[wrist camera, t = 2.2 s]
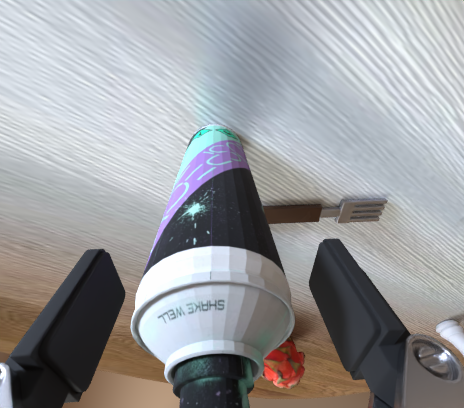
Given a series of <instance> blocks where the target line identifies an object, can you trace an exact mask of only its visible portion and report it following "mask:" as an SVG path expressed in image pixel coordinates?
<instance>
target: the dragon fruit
mask: <svg viewBox="0 0 464 408" xmlns="http://www.w3.org/2000/svg"><path fill="white" fill-rule="evenodd" d="M304 358H305V355H304V353H303V352H297V350H296V347H295V344H294V342H293V341H292V339H291V338H290V337H288V338H287V339H286V341H285V342H284V343H282V344H281V345H280V346H279V347H277V348H276V349H274V350H273V351H271V352H270V353H269V354H268V355H267V356H266V357H265V358H264V359H263V360H264V372H263V374H262V375H261V376H262V377H263V378H264V379H266V380H269V381H273V383H274V385H275V386H277V387H279V388H284V387H285V388H287V389H292V388H293V387H294V386H295V385H298V384H299V382H300V378H302V376H303V374H304V371H305V368H304V367H303V366H302V365H303V364H304Z"/></svg>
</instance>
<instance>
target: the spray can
mask: <svg viewBox="0 0 464 408" xmlns="http://www.w3.org/2000/svg"><path fill="white" fill-rule="evenodd" d="M135 306H136V309H135V311H134V314H133V317H132V320H131V332H132V335H133V338H134V339H135V341H136V342H137V343H138V345H139V346H140V347H141V348H143V349H144V350H145V351H146V352H148V353H149V354H151V355H153V356H155V357H157V358H158V359H159V360H161V361H162V362H163V363H164V364H166V366H165V372H164V374H165V378H166V379H167V381H168V382H169V383H171V384H172V385H173V393H174V394H175V395H176V396H177V397H179V398H180V408H250V406H249V400H248V396H247V394H249V393H250V392H251V391H252V390H253V387H254V381H255V380H257V379H258V378H259V377H260V376H261V375H262V374H263V372H264V360H263V359H264V358H265V357H266V356H267V355H268V354H269V353H270V352H271V351H273V350H274V349H276V348H277V347H279V346H280V345H281V344H282V343H284V342H285V341H286V339H287V338H288V337H289V336H290V334H291V332H292V330H293V328H294V325H295V315H294V311H293V308H292V304H291V292H290V288H289V285H288V282H287V279H286V276H285V273H284V270H283V267H282V264H281V261H280V258H279V255H278V252H277V249H276V246H275V243H274V240H273V237H272V234H271V231H270V228H269V225H268V222H267V219H266V216H265V213H264V210H263V207H262V204H261V201H260V198H259V195H258V192H257V189H256V186H255V183H254V180H253V177H252V174H251V171H250V168H249V165H248V162H247V159H246V156H245V153H244V150H243V147H242V144H241V142H240V140H239V138H238V136H237V135H236V134H235V132H234V131H232V130H231V129H230V128H228V127H226V126H223V125H220V124H210V125H206V126H203V127H202V128H200V129H198V130H197V131H196V132H195V133H194V135H193V136H192V138H191V139H190V142H189V144H188V147H187V150H186V153H185V156H184V159H183V162H182V164H181V167H180V170H179V173H178V176H177V179H176V182H175V185H174V188H173V190H172V193H171V196H170V199H169V202H168V205H167V208H166V211H165V213H164V216H163V219H162V222H161V225H160V228H159V231H158V234H157V236H156V239H155V242H154V245H153V248H152V251H151V254H150V257H149V259H148V262H147V265H146V268H145V271H144V274H143V277H142V280H141V282H140V285H139V288H138V291H137V294H136V301H135Z"/></svg>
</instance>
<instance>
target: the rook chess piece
mask: <svg viewBox="0 0 464 408" xmlns="http://www.w3.org/2000/svg"><path fill="white" fill-rule="evenodd" d="M436 331H437V332H439V333H440V335H441V337H443V338H445V339H447V340H448V341H449V342H451V343H452V344H453V345H454V346H455V347H456V348H457V349H458V350H459V351H460V352H461V353H462V354H463V356H464V329H463V327H461V326H459V322H456V321H454V320H448V321H444V322H442V323H440V324H438V325H437V326H436Z"/></svg>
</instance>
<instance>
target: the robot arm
mask: <svg viewBox="0 0 464 408" xmlns="http://www.w3.org/2000/svg"><path fill="white" fill-rule="evenodd" d="M309 287H310V290H311V292H312V295H313V297H314V299H315V302H316V304H317V306H318V309H319V311H320V313H321V316H322V318H323V320H324V323H325V325H326V327H327V330H328V332H329V334H330V337H331V339H332V341H333V343H334V346H335V348H336V350H337V353H338V355H339V357H340V360H341V362H342V364H343V366H344V368H345V370H346V371H348V372H349V371H350V374H351V376H352V378H353V380H360V379H365V380H366V383H367V385H368V387H369V389H370V398H369V404H368V408H464V367H463V365H462V364H461V362H460V361H459V359H458V358H457V357H456V356H455V354H454V353H453V352H452V351H451V350H450V349H448V348H447V347H446V346H445V345H443V344H442V343H441V342H439V341H437V340H436V339H434V338H432V337H429V336H427V335H423V334H412V335H411V334H410V333H409V331H408V330H407V329H406V327H405V326H404V325H403V323H402V322H401V321H400V319H399V318H398V316H397V315H396V314H395V312H394V311H393V310H392V308H391V307H390V306H389V304H388V303H387V302H386V300H385V299H384V298H383V296H382V295H381V293H380V292H379V291H378V289H377V288H376V287H375V285H374V284H373V283H372V281H371V280H370V279H369V277H368V276H367V275H366V273H365V272H364V271H363V270H362V269H361V268H360V267H359V265H358V264H357V263H356V261H355V260H354V258H353V257H352V256H351V254H350V253H349V252H348V250H347V249H346V248H345V246H344V245H343V243H342V242H341V241H340V240H339V239H324V240H323V242H321V243H320V244H319V248H318V251H317V255H316V258H315V262H314V265H313V269H312V272H311V276H310V280H309ZM124 299H125V290H124V287H123V285H122V283H121V280H120V278H119V276H118V273H117V271H116V268H115V266H114V264H113V261H112V259H111V257H110V254H109V253H108V252H105V250H104V249H92V250H87V251H86V252H85V253H84V254H83V256H82V257H81V258H80V260H79V261H78V263H77V264H76V265H75V267H74V268H73V269H72V271H71V272H70V274H69V275H68V276H67V278H66V279H65V280H64V282H63V283H62V284H61V286H60V287H59V289H58V290H57V291H56V293H55V294H54V295H53V297H52V298H51V300H50V301H49V302H48V304H47V305H46V306H45V308H44V309H43V311H42V312H41V313H40V315H39V316H38V317H37V319H36V320H35V321H34V323H33V324H32V326H31V327H30V328H29V330H28V331H27V332H26V334H25V335H24V337H23V338H22V339H21V341H20V342H19V343H18V345H17V346H16V347H15V349H14V350H13V352H12V353H11V354H10V356H9V358H8V360H7V361H6V362H5V364H4V363H0V408H62V406H63V404H64V403H67V402H79V400H80V398H81V395H82V393H83V392H84V391H86V390H87V389H88V387H89V385H90V383H91V381H92V378H93V376H94V373H95V371H96V368H97V366H98V363H99V361H100V358H101V356H102V354H103V351H104V349H105V346H106V344H107V341H108V339H109V336H110V334H111V331H112V329H113V326H114V324H115V322H116V319H117V317H118V314H119V312H120V309H121V307H122V304H123V302H124Z"/></svg>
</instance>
